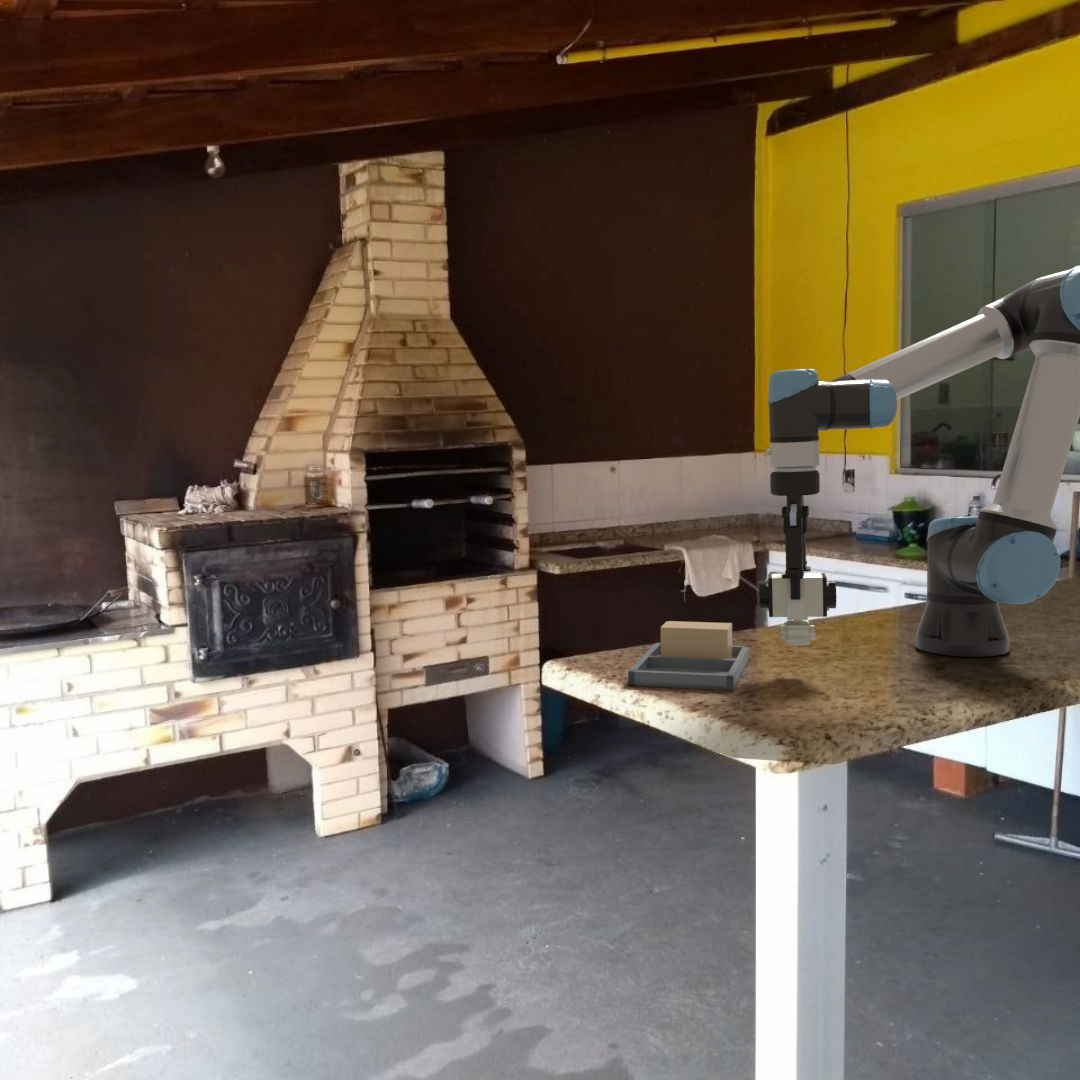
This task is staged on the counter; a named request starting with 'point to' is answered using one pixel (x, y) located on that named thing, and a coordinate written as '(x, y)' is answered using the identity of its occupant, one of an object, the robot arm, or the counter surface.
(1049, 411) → the robot arm
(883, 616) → the counter surface
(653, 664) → the bay tray
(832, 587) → the pneumatic valve
